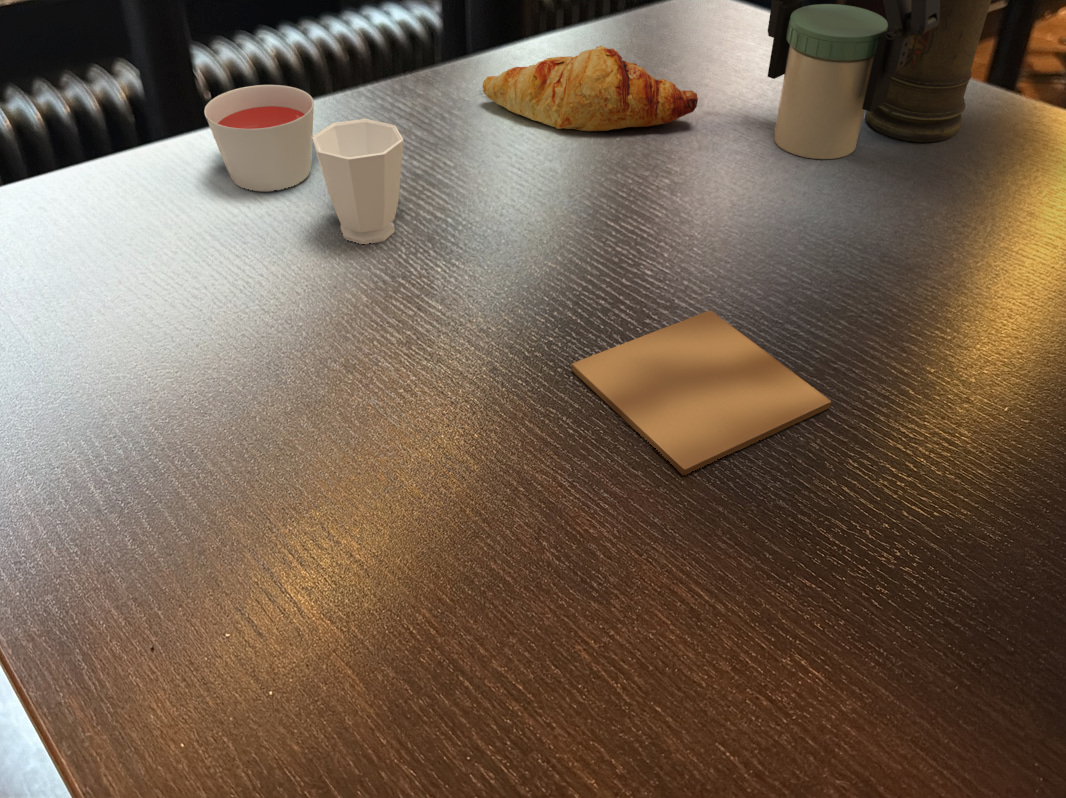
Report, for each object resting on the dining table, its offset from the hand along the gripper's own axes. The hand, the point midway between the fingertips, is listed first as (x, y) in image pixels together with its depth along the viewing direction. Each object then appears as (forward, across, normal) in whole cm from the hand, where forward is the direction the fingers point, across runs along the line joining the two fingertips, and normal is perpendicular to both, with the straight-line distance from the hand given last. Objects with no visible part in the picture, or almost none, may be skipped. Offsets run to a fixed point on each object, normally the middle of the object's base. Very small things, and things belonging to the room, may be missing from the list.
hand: (825, 89), depth 91 cm
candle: (+5, +30, +40) cm, 50 cm away
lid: (-6, 0, 0) cm, 6 cm away
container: (+5, -4, -10) cm, 12 cm away
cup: (+5, +17, +39) cm, 43 cm away
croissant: (+5, +19, +11) cm, 23 cm away
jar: (+5, 0, 0) cm, 5 cm away
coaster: (+5, -15, +37) cm, 41 cm away
